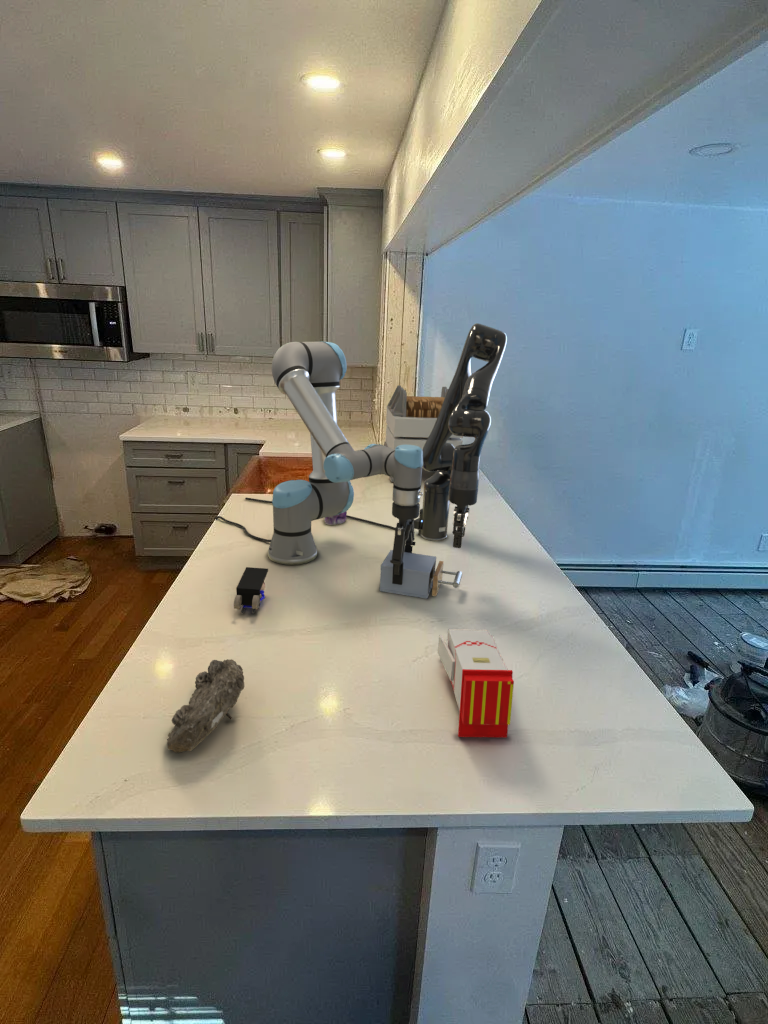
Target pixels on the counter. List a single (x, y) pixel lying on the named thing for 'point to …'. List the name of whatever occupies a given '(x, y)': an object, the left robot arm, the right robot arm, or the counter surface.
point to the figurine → (336, 519)
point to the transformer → (413, 419)
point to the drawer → (438, 578)
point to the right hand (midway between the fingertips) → (458, 541)
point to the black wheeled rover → (250, 589)
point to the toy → (478, 682)
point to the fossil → (206, 705)
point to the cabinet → (409, 575)
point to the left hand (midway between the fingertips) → (402, 574)
